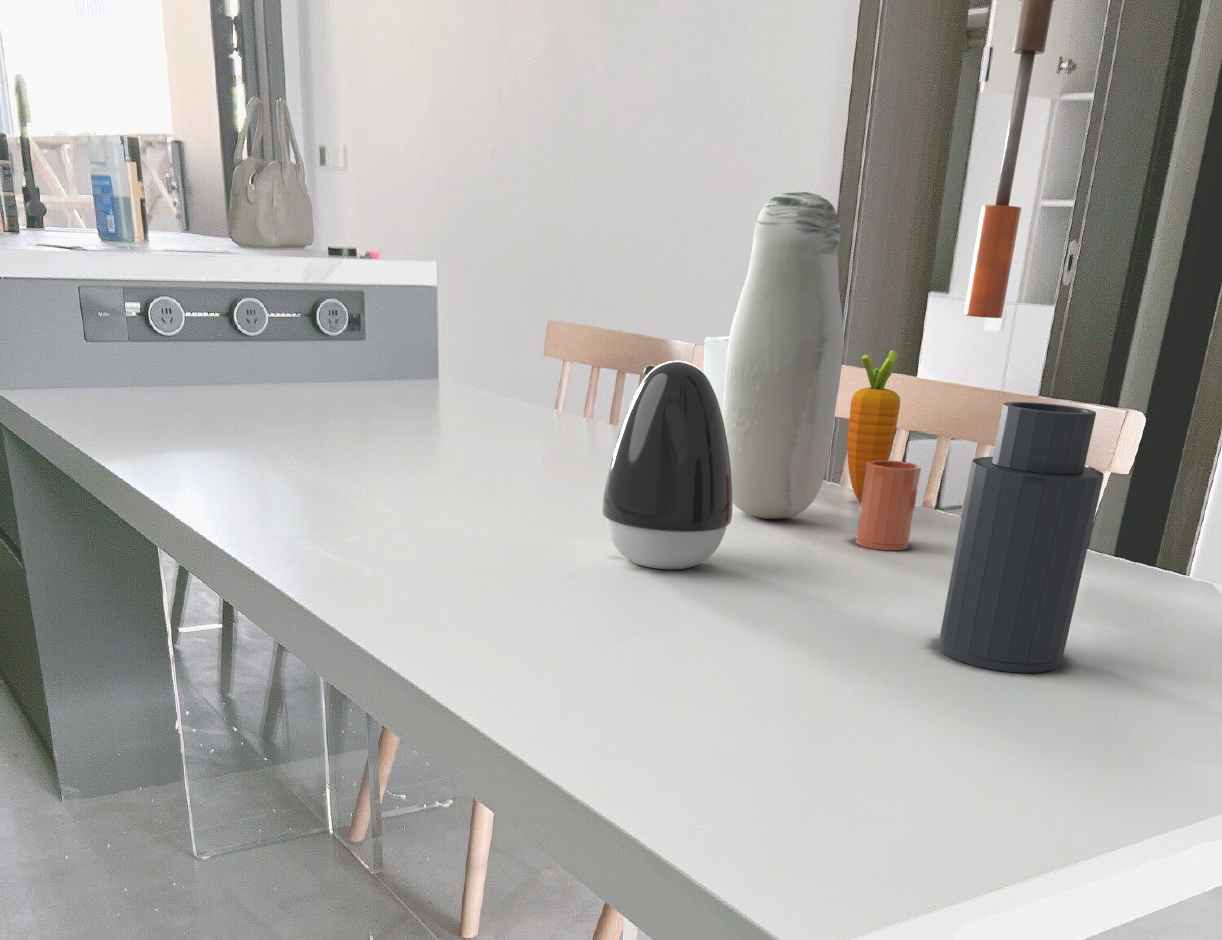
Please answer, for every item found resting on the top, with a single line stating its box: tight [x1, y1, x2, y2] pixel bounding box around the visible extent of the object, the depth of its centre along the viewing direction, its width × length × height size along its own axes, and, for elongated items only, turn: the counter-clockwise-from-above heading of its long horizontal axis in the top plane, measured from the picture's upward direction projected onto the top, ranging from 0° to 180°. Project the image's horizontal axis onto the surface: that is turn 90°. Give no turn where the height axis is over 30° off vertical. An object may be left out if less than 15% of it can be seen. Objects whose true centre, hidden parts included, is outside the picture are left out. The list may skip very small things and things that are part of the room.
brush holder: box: [855, 459, 922, 551], centre depth 108 cm, size 5×5×7 cm
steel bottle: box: [938, 401, 1105, 674], centre depth 77 cm, size 8×8×16 cm
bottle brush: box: [963, 0, 1054, 319], centre depth 81 cm, size 3×3×24 cm
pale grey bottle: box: [723, 191, 845, 520], centre depth 112 cm, size 10×10×28 cm
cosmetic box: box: [702, 335, 730, 417], centre depth 135 cm, size 8×6×15 cm
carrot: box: [847, 350, 901, 504], centre depth 125 cm, size 5×5×15 cm
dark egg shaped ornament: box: [601, 360, 733, 570], centre depth 95 cm, size 10×10×15 cm
